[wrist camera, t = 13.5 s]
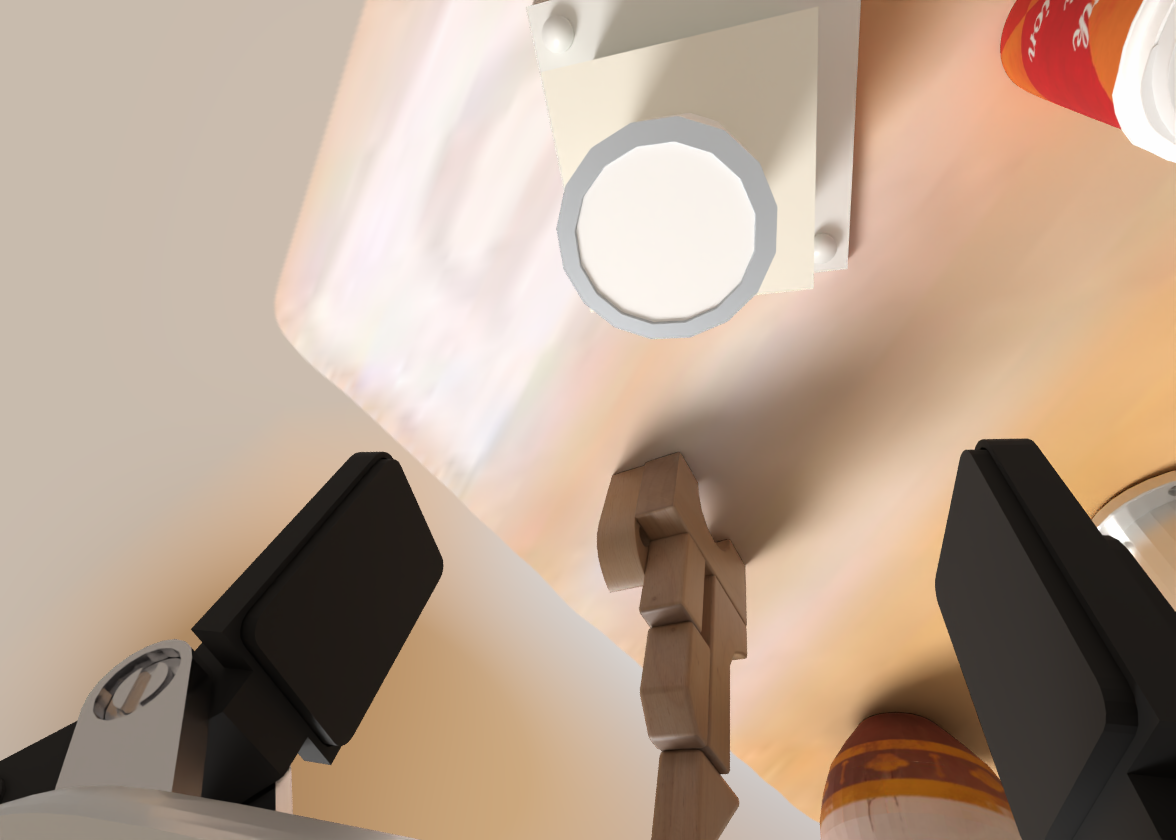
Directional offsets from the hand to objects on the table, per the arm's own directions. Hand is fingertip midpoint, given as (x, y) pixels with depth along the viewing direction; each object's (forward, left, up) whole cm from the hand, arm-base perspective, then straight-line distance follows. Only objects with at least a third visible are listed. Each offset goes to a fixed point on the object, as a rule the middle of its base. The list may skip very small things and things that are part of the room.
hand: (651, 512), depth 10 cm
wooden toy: (+4, +28, -29) cm, 41 cm away
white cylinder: (+1, -2, -18) cm, 18 cm away
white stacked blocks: (0, -2, -28) cm, 28 cm away
